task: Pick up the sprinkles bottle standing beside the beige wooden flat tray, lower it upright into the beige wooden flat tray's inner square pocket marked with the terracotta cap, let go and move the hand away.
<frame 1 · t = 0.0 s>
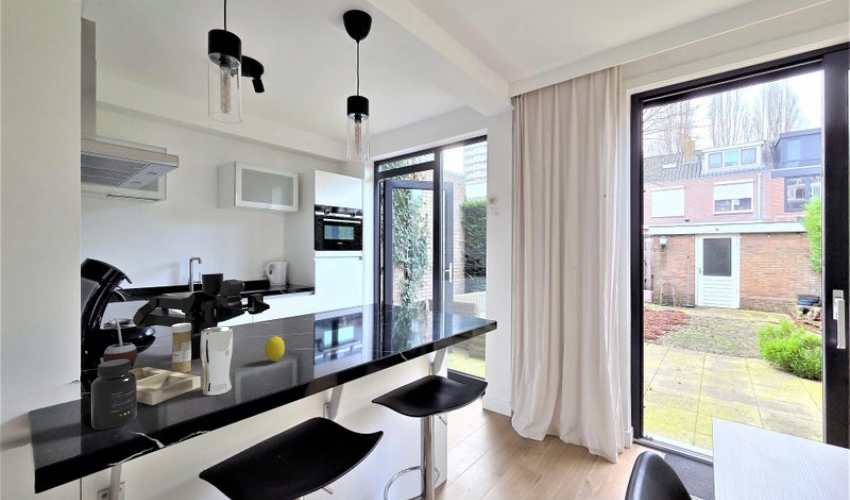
hand: (257, 309, 103), 17 cm above the table, tool horizontal, fingers open, 9 cm apart
mate gourd: (119, 374, 96), on the table
lemon: (275, 362, 106), on the table
beige wooden flat tray: (149, 389, 86), on the table
sprinkles bottle: (182, 372, 98), on the table
supplement bottle: (115, 423, 69), on the table
beer glass: (217, 391, 85), on the table
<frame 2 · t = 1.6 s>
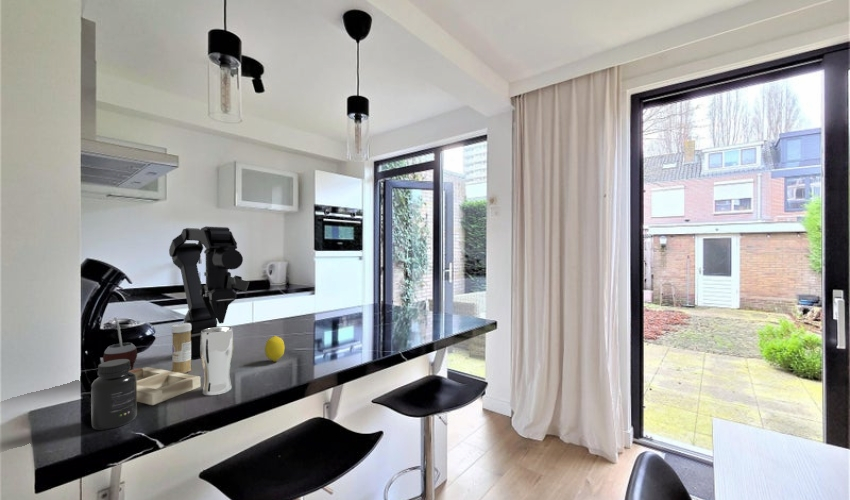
hand: (217, 321, 103), 13 cm above the table, tool pointing down, fingers open, 9 cm apart
nothing on the table moved.
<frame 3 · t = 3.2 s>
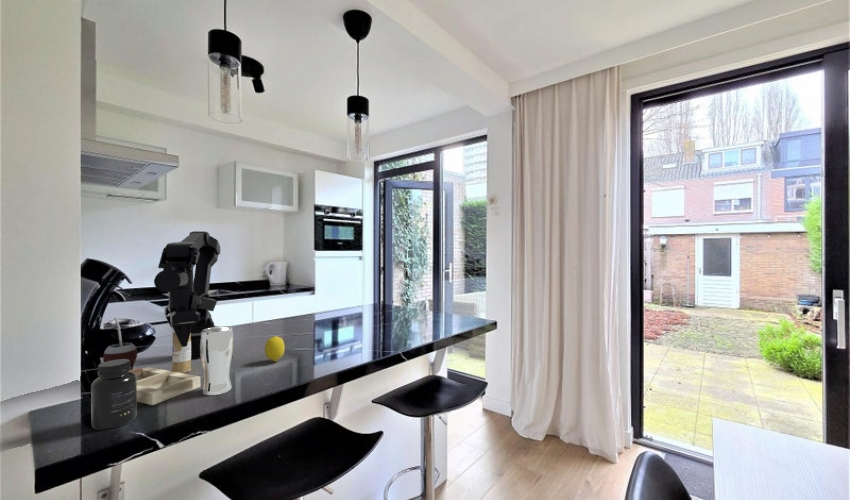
hand: (181, 343, 98), 8 cm above the table, tool pointing down, fingers open, 9 cm apart
nothing on the table moved.
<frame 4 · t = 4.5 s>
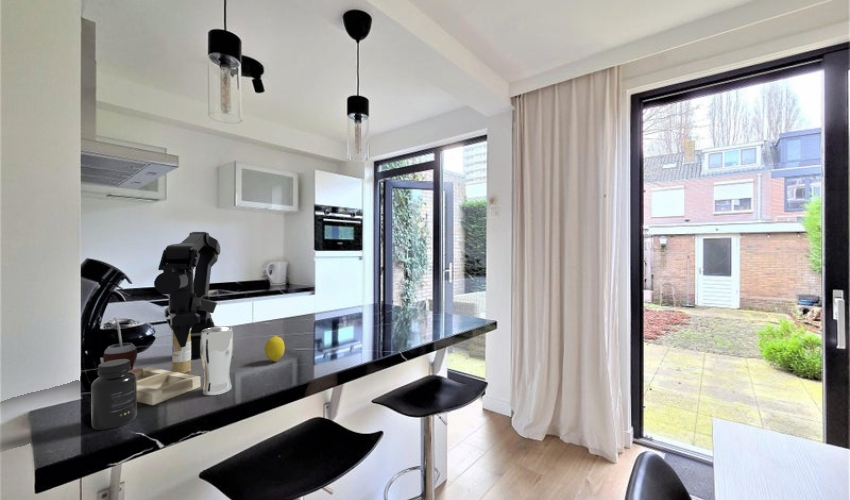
hand: (181, 345, 98), 8 cm above the table, tool pointing down, fingers closed on sprinkles bottle, 4 cm apart
sprinkles bottle: (181, 372, 98), on the table, touching gripper
everything else where it was.
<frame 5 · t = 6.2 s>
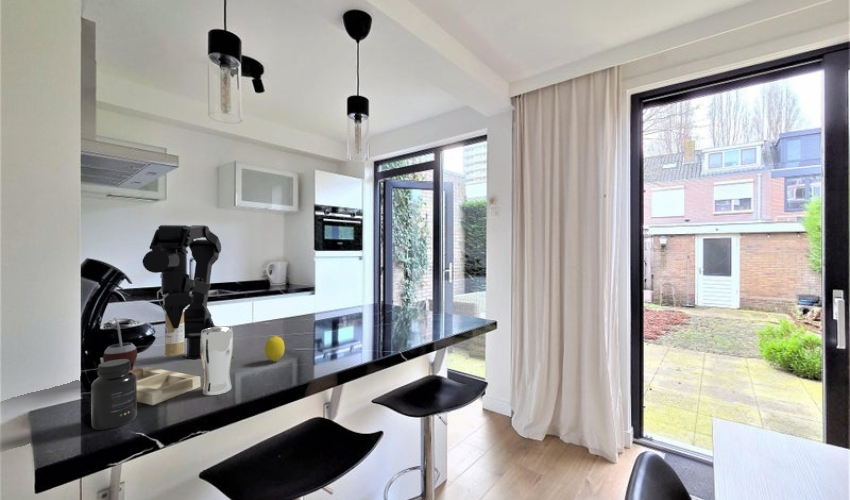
hand: (174, 326, 96), 13 cm above the table, tool pointing down, fingers closed on sprinkles bottle, 4 cm apart
sprinkles bottle: (175, 354, 96), point 5 cm above the table, touching gripper
everything else where it was.
when the fingers open (9 cm above the table, at t = 8.2 s): sprinkles bottle drops 1 cm, resting in beige wooden flat tray.
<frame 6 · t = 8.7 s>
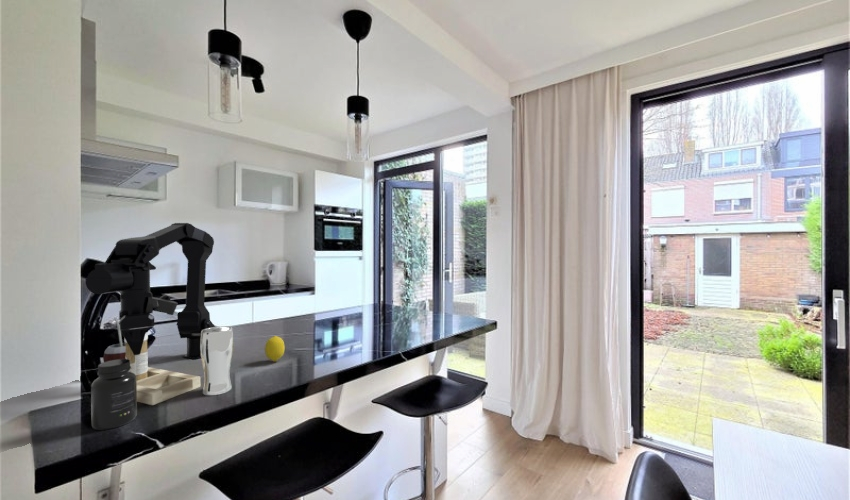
hand: (136, 350, 87), 9 cm above the table, tool pointing down, fingers open, 9 cm apart
sprinkles bottle: (137, 386, 88), resting in beige wooden flat tray
everything else where it was.
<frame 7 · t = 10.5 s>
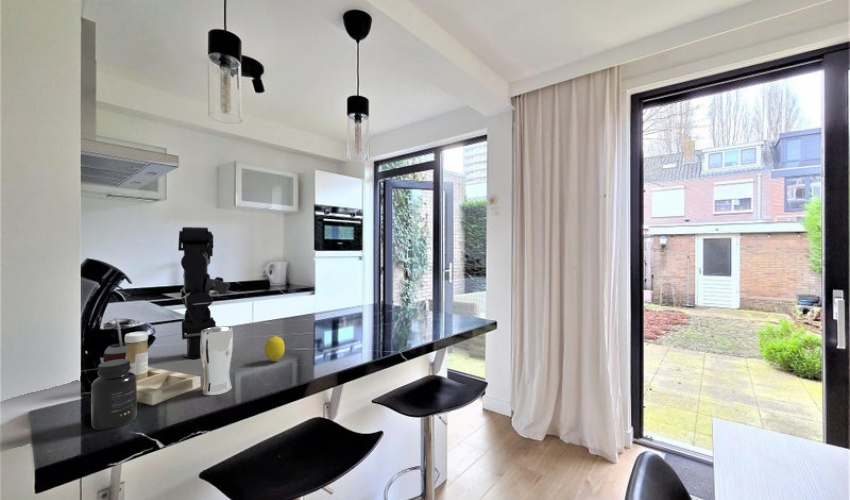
hand: (196, 324, 101), 13 cm above the table, tool pointing down, fingers open, 9 cm apart
nothing on the table moved.
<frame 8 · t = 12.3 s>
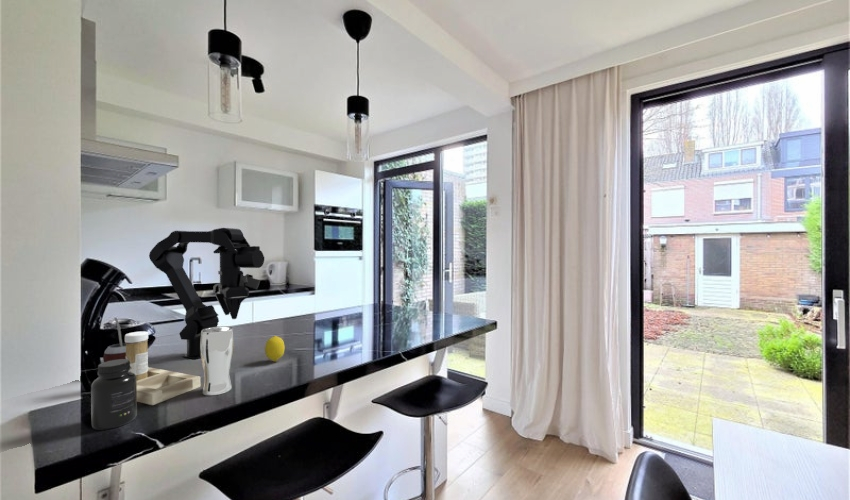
hand: (230, 316, 110), 13 cm above the table, tool pointing down, fingers open, 9 cm apart
nothing on the table moved.
at the end: sprinkles bottle 0.2 cm from the target spot on the beige wooden flat tray, point 0.0 cm above the beige wooden flat tray's base; sprinkles bottle tilted 0°; the gripper is holding nothing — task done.
